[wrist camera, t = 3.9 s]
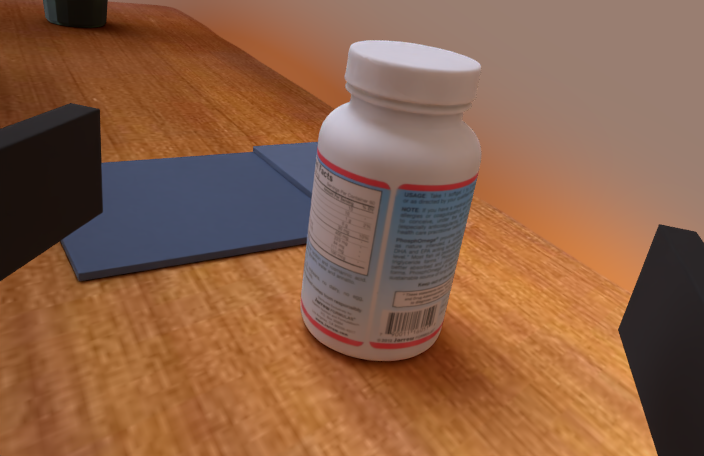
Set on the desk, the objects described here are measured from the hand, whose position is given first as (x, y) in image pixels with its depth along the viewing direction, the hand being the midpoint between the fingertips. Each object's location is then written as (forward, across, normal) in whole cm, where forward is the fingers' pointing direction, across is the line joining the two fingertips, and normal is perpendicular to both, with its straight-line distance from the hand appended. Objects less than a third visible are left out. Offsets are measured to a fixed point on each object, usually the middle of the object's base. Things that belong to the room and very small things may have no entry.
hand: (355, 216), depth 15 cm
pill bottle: (+9, 0, -9) cm, 13 cm away
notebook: (+18, -9, -9) cm, 22 cm away
